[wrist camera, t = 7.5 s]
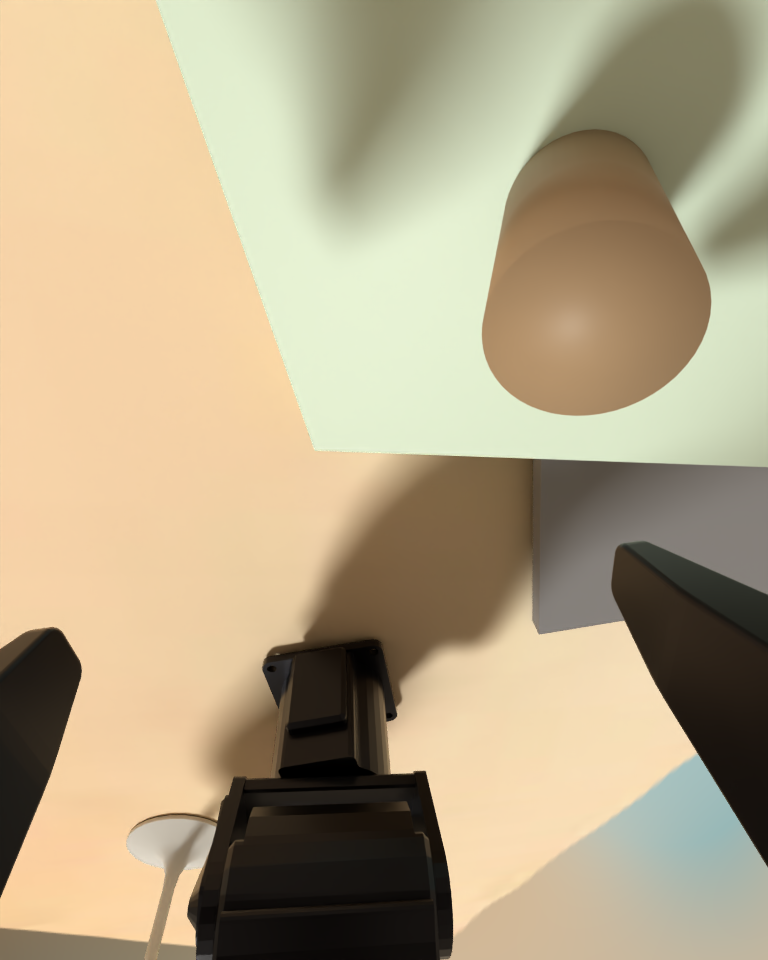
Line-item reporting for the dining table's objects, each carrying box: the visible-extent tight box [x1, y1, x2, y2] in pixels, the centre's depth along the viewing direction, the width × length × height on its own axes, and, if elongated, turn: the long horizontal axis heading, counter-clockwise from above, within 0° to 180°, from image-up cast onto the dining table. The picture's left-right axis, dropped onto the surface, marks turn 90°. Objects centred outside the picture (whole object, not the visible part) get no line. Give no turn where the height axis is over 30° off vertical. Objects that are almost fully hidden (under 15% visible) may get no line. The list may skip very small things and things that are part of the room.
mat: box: [532, 459, 768, 634], centre depth 22 cm, size 15×17×1 cm
